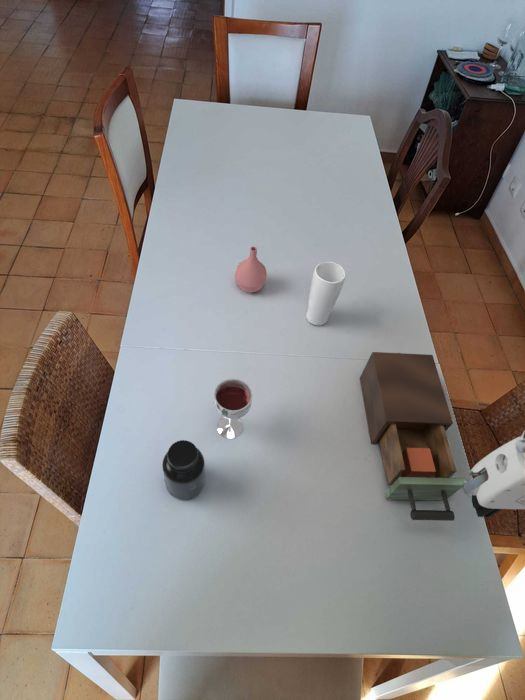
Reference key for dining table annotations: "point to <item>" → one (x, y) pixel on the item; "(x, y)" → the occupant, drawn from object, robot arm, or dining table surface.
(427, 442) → the drawer
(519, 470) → the robot arm
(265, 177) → the dining table surface
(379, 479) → the dining table surface
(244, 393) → the wineglass
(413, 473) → the block
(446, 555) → the dining table surface
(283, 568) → the dining table surface
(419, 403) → the cabinet
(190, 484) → the supplement bottle
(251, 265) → the pink bulb vase
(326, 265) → the drinking glass
